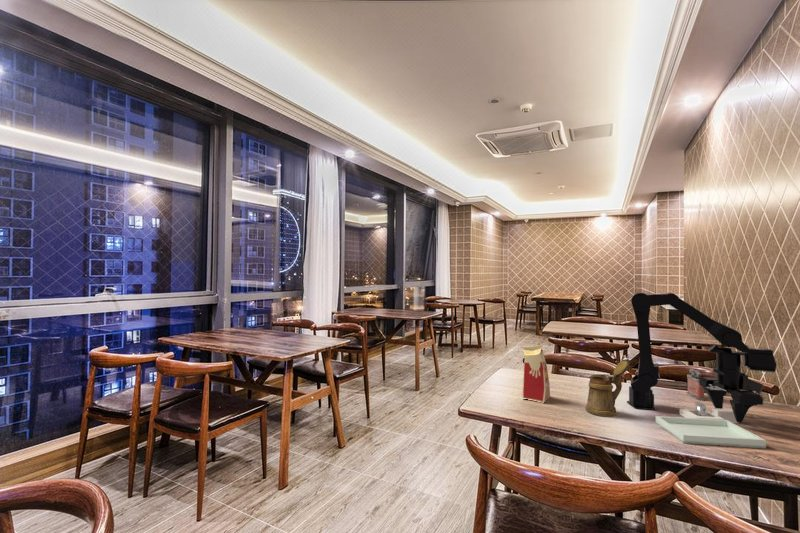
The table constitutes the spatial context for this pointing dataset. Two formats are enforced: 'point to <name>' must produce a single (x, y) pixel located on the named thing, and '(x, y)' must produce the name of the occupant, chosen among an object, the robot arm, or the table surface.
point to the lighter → (695, 385)
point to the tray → (709, 432)
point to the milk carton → (535, 375)
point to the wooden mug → (605, 392)
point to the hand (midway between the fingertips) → (729, 417)
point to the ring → (710, 414)
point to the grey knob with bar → (700, 409)
